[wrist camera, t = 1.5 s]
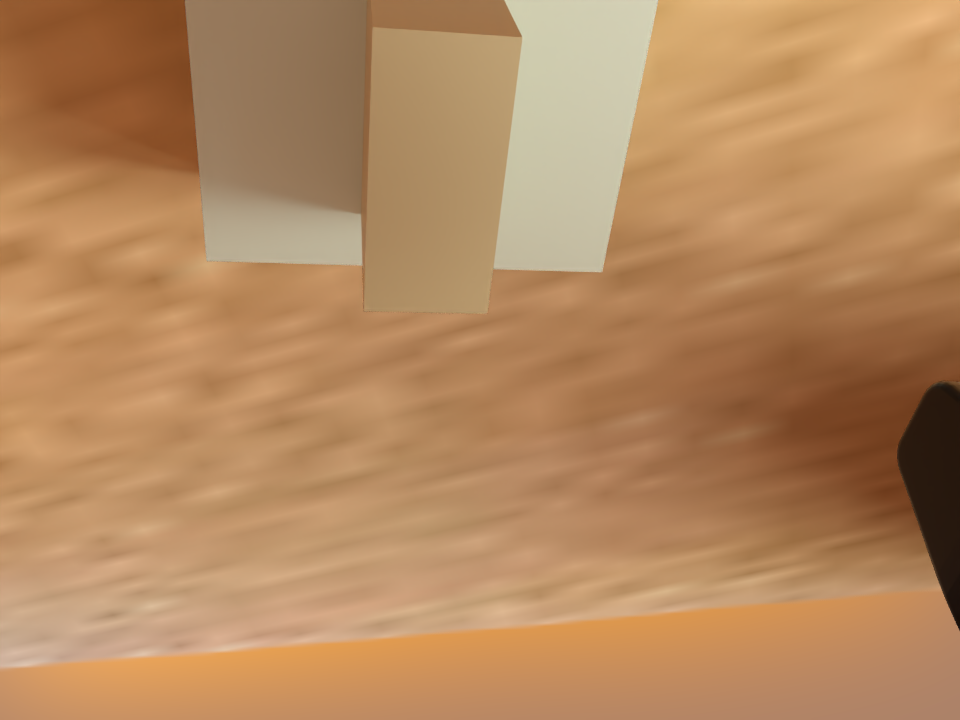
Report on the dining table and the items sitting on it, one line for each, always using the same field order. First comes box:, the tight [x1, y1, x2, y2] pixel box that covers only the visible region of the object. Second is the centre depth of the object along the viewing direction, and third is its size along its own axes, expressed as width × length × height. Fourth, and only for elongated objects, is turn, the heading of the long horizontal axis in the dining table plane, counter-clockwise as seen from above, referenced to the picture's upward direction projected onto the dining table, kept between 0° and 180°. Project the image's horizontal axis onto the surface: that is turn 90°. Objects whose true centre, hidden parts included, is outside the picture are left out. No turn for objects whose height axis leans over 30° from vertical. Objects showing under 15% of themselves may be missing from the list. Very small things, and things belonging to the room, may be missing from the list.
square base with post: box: [185, 0, 658, 314], centre depth 15 cm, size 6×7×6 cm
